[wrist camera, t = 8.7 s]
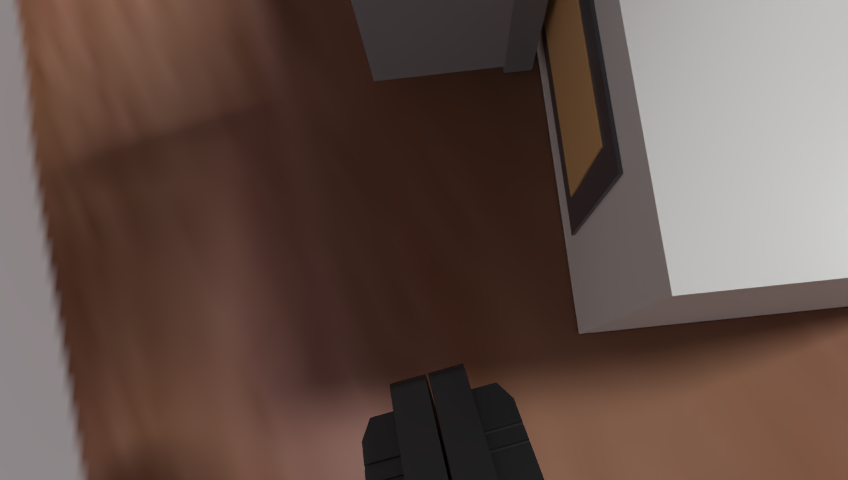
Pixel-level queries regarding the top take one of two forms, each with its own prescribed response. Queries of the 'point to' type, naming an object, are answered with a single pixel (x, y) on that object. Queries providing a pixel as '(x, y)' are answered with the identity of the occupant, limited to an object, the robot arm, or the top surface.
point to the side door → (448, 35)
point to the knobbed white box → (699, 156)
